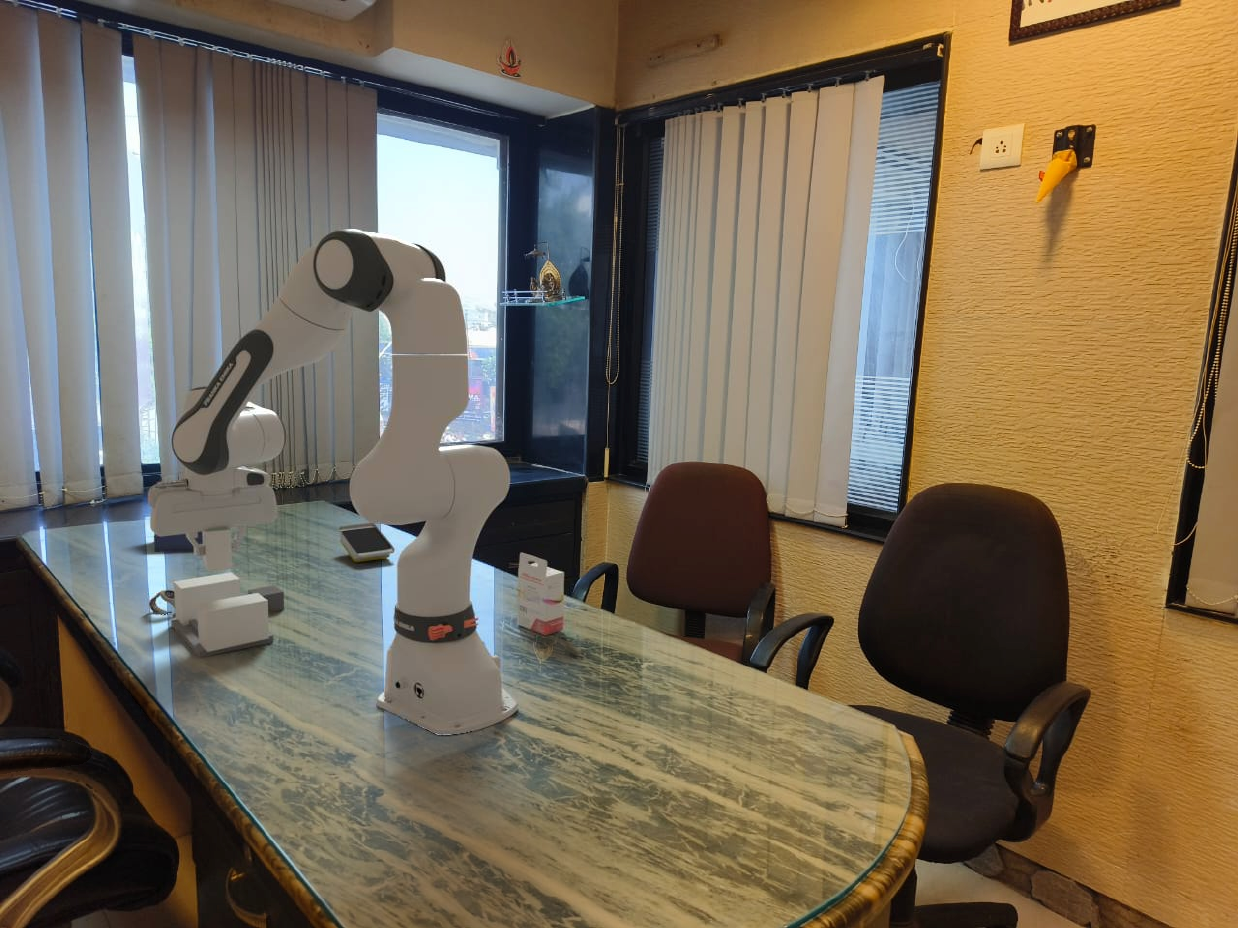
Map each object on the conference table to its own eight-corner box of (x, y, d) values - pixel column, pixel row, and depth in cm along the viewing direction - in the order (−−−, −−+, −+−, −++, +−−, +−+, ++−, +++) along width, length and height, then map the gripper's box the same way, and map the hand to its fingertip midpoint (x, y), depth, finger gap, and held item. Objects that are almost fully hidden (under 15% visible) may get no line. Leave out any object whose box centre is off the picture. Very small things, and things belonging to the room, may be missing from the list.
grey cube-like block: (284, 610, 158) (283, 591, 157) (258, 616, 154) (257, 596, 154) (274, 604, 161) (273, 585, 160) (249, 609, 158) (248, 590, 157)
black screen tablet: (336, 541, 199) (357, 571, 189) (337, 526, 198) (358, 555, 187) (372, 537, 205) (394, 565, 195) (373, 522, 204) (396, 550, 193)
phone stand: (154, 552, 192) (151, 504, 190) (163, 539, 203) (160, 494, 201) (209, 549, 197) (207, 502, 195) (215, 537, 208) (213, 492, 206)
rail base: (275, 644, 141) (273, 599, 139) (201, 661, 132) (199, 613, 131) (238, 612, 155) (236, 571, 154) (170, 626, 147) (167, 582, 146)
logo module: (232, 568, 140) (230, 528, 139) (207, 571, 138) (205, 530, 137) (228, 559, 146) (226, 521, 145) (203, 562, 144) (201, 523, 143)
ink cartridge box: (564, 630, 153) (566, 557, 151) (545, 636, 150) (547, 561, 147) (535, 618, 159) (536, 547, 156) (515, 624, 155) (517, 551, 153)
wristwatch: (173, 619, 150) (172, 594, 150) (145, 616, 152) (144, 591, 151) (187, 613, 154) (185, 588, 153) (159, 609, 155) (158, 585, 154)
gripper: (151, 485, 130) (156, 566, 132) (279, 474, 143) (281, 548, 146) (142, 479, 134) (147, 557, 137) (267, 469, 148) (269, 540, 150)
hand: (217, 552), depth 141 cm, fingers closed on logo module, 4 cm apart
